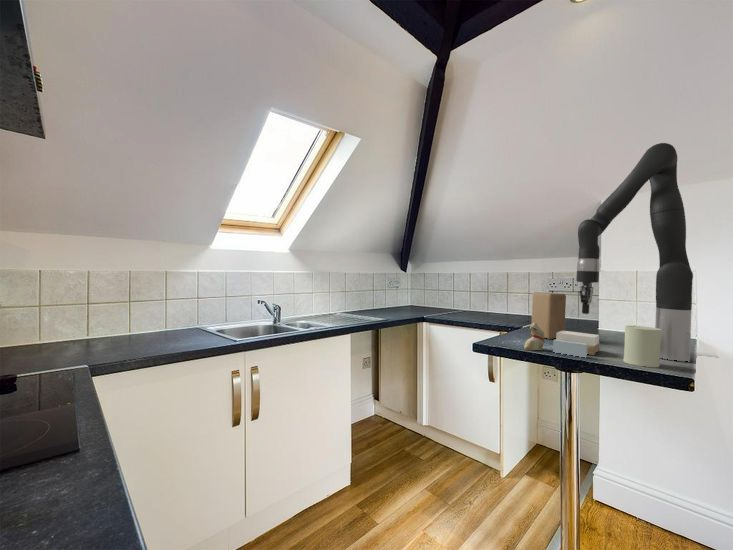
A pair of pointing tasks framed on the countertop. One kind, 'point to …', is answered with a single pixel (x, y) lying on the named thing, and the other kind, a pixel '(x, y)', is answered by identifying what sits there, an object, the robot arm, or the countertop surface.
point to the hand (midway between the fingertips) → (585, 313)
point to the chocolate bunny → (535, 339)
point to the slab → (578, 337)
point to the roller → (591, 350)
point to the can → (642, 346)
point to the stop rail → (570, 348)
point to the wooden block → (549, 313)
